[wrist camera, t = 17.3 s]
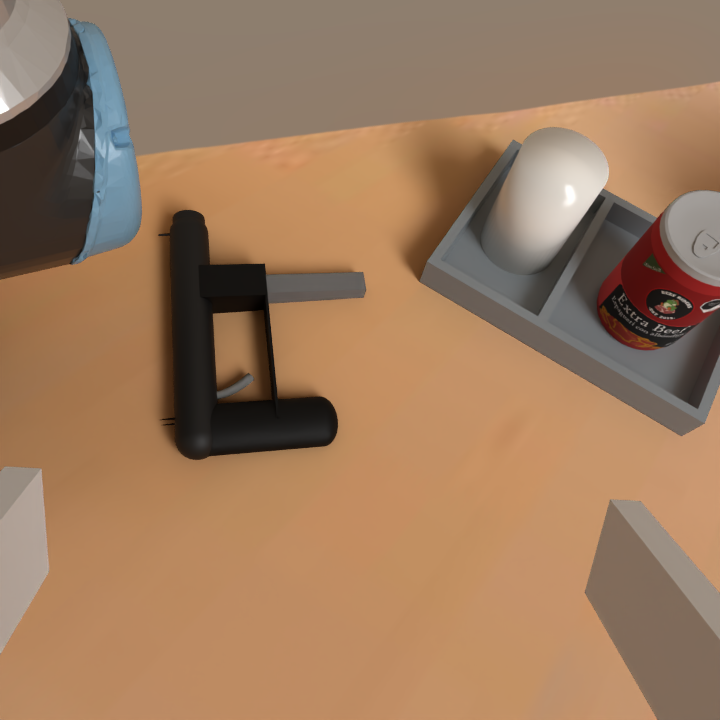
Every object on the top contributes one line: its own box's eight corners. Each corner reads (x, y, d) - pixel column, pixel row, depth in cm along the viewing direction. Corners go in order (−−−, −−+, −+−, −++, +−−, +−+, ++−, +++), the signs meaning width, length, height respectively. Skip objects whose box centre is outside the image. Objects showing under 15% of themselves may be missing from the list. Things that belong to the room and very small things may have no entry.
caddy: (419, 281, 53) (427, 261, 51) (502, 163, 60) (513, 139, 57) (681, 436, 50) (704, 423, 48) (738, 293, 57) (761, 274, 54)
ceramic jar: (467, 249, 54) (505, 168, 45) (501, 199, 57) (543, 113, 48) (535, 288, 54) (588, 214, 45) (566, 236, 56) (622, 155, 47)
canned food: (579, 324, 53) (649, 247, 43) (612, 256, 56) (684, 170, 46) (665, 371, 52) (757, 303, 42) (693, 299, 55) (785, 221, 45)
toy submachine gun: (354, 206, 53) (153, 207, 50) (393, 435, 45) (156, 455, 42) (348, 231, 56) (157, 233, 53) (384, 449, 48) (161, 469, 45)
